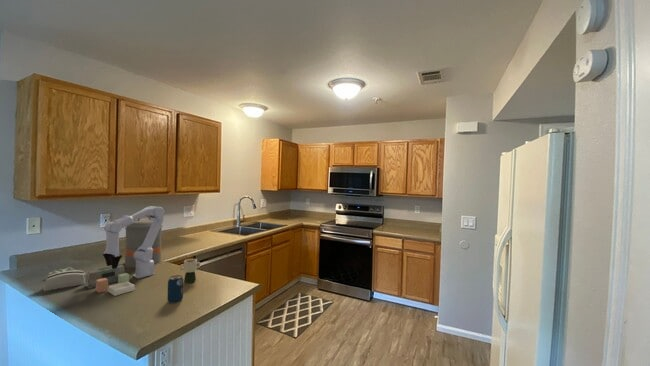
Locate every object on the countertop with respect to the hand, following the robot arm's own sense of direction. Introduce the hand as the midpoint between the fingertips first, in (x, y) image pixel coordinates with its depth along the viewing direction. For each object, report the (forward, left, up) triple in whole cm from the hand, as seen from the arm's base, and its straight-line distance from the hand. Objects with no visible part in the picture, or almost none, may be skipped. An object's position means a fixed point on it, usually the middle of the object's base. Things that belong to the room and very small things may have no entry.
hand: (112, 266), depth 153 cm
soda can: (-11, +48, -11) cm, 50 cm away
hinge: (+16, -17, -11) cm, 25 cm away
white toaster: (+12, -36, -11) cm, 39 cm away
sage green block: (-4, +5, -10) cm, 12 cm away
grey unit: (0, -7, -10) cm, 13 cm away
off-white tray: (0, +13, -10) cm, 17 cm away
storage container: (-29, -31, -11) cm, 43 cm away
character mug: (-29, +30, -11) cm, 43 cm away
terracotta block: (+6, +5, -10) cm, 13 cm away
